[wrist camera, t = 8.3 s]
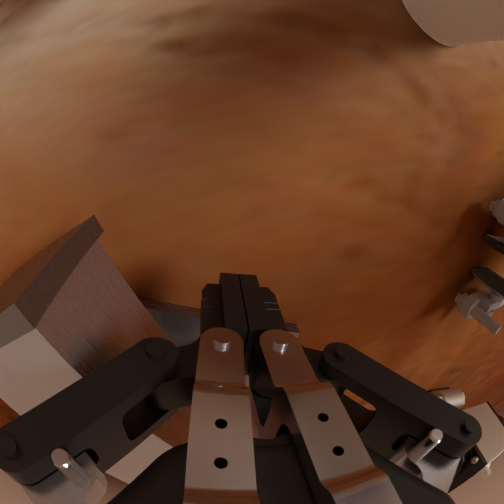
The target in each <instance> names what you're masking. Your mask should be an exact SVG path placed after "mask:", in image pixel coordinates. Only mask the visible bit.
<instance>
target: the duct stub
mask: <svg viewBox="0 0 504 504" xmlns="http://www.w3.org/2000/svg"><path fill="white" fill-rule="evenodd" d="M138 299H139V300H140V301H141V303H142V304H143V305H144V307H145V308H146V309H147V311H148V312H149V313H150V315H151V316H152V317H153V318H154V320H155V321H156V322H157V323H158V325H159V326H160V327H161V328H162V330H163V331H164V332H165V333H166V335H167V336H168V337H169V338H170V339H171V341H172V342H173V343H174V344H175V345H176V347H180V346H185V345H189V344H191V343H193V342H195V341H196V340H197V339H198V338H199V337H200V314H201V310H200V309H194V308H189V307H184V306H179V305H174V304H169V303H164V302H159V301H154V300H150V299H145V298H141V297H138ZM285 326H286V328H287V331H288V332H289V333H291V334H293V335H294V336H295V337H296V338H298V336H299V334H300V332H299V330H298V327H297V325H296V324H289V323H285ZM248 385H249V376H248V375H245V386H246V387H248Z"/></svg>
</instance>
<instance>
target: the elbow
mask: <svg viewBox="0 0 504 504" xmlns="http://www.w3.org/2000/svg"><path fill="white" fill-rule="evenodd" d="M102 233H103V229H102V227H101V226H100V224H99V222H98V221H97V219H96V217H95V216H94V215H93V216H91V217H90V218H88V219H87V220H85V221H84V222H82V223H81V224H79V225H78V226H76V227H75V228H73V229H72V230H70V231H69V232H68V233H66V234H65V235H63V236H62V237H60V238H59V239H58V240H56V241H55V242H53V243H52V244H51V245H49V246H48V247H47V248H45V249H44V250H43V251H41V252H40V253H39V254H37V255H36V256H35V257H33V258H32V259H31V260H29V261H28V262H27V263H26V264H24V265H23V266H22V267H21V268H19V269H18V270H17V271H16V272H14V273H13V274H12V275H11V276H10V277H9V279H8V280H7V281H6V282H5V283H4V284H3V285H2V286H1V287H0V398H1V399H2V400H3V401H4V402H5V403H6V404H8V405H9V406H10V407H11V408H12V409H13V410H14V411H16V412H17V413H18V414H19V415H20V416H21V415H23V414H24V413H26V412H28V411H29V410H31V409H32V408H34V407H36V406H37V405H39V404H41V403H42V402H44V401H45V400H47V399H49V398H50V397H52V396H54V395H55V394H57V393H58V392H60V391H62V390H63V389H65V388H66V387H68V386H70V385H71V384H73V383H75V382H76V381H78V380H79V379H81V378H83V377H84V376H86V375H87V374H89V373H90V372H92V371H94V370H95V369H97V368H98V367H100V366H102V365H103V364H105V363H106V362H108V361H109V360H111V359H113V358H114V357H116V356H117V355H119V354H121V353H122V352H124V351H125V350H127V349H128V348H130V347H131V346H133V345H135V344H136V343H138V342H139V341H141V340H143V339H145V338H149V337H161V338H165V339H167V340H169V341H171V339H170V338H169V337H168V336H167V335H166V333H165V332H164V331H163V330H162V328H161V327H160V326H159V325H158V323H157V322H156V321H155V320H154V318H153V317H152V316H151V315H150V313H149V312H148V311H147V309H146V308H145V307H144V305H143V304H142V303H141V301H140V300H139V299H138V297H137V296H136V295H135V293H134V292H133V291H132V289H131V288H130V286H129V285H128V284H127V282H126V281H125V279H124V278H123V277H122V275H121V274H120V272H119V271H118V269H117V268H116V267H115V265H114V264H113V262H112V261H111V259H110V258H109V256H108V255H107V253H106V252H105V250H104V248H103V247H102V245H101V244H100V242H99V241H98V238H99V236H100V235H101V234H102ZM171 342H172V341H171ZM172 343H173V342H172ZM173 344H174V343H173ZM174 345H175V344H174ZM175 346H176V345H175ZM190 415H191V405H190V406H186V407H181V408H179V409H178V411H177V412H176V413H175V414H174V415H173V416H172V417H171V418H170V419H169V420H167V421H166V422H165V423H164V424H163V425H162V426H161V427H159V428H158V429H157V430H156V431H155V432H154V433H152V434H151V435H150V436H149V437H148V438H147V439H145V440H144V441H143V442H142V443H141V444H139V445H138V446H137V447H136V448H135V449H133V450H132V451H131V452H130V453H129V454H127V455H126V456H125V457H124V458H122V459H121V460H120V461H119V462H117V463H116V464H115V465H114V466H112V467H111V468H110V469H108V470H107V471H106V473H108V474H110V475H112V476H114V477H116V478H118V479H120V480H122V481H124V482H126V483H128V484H130V483H131V482H132V481H133V480H134V479H135V478H136V477H137V476H138V475H139V474H140V473H142V472H143V471H144V470H145V469H146V468H147V467H148V466H149V465H150V464H151V463H152V462H153V461H154V460H155V459H156V458H157V457H159V456H160V455H161V454H163V453H164V452H166V451H167V450H169V449H171V448H173V447H175V446H178V445H181V444H184V443H188V437H189V426H190ZM251 418H252V433H253V437H255V438H258V430H257V426H256V423H255V419H254V415H253V411H252V408H251Z"/></svg>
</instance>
